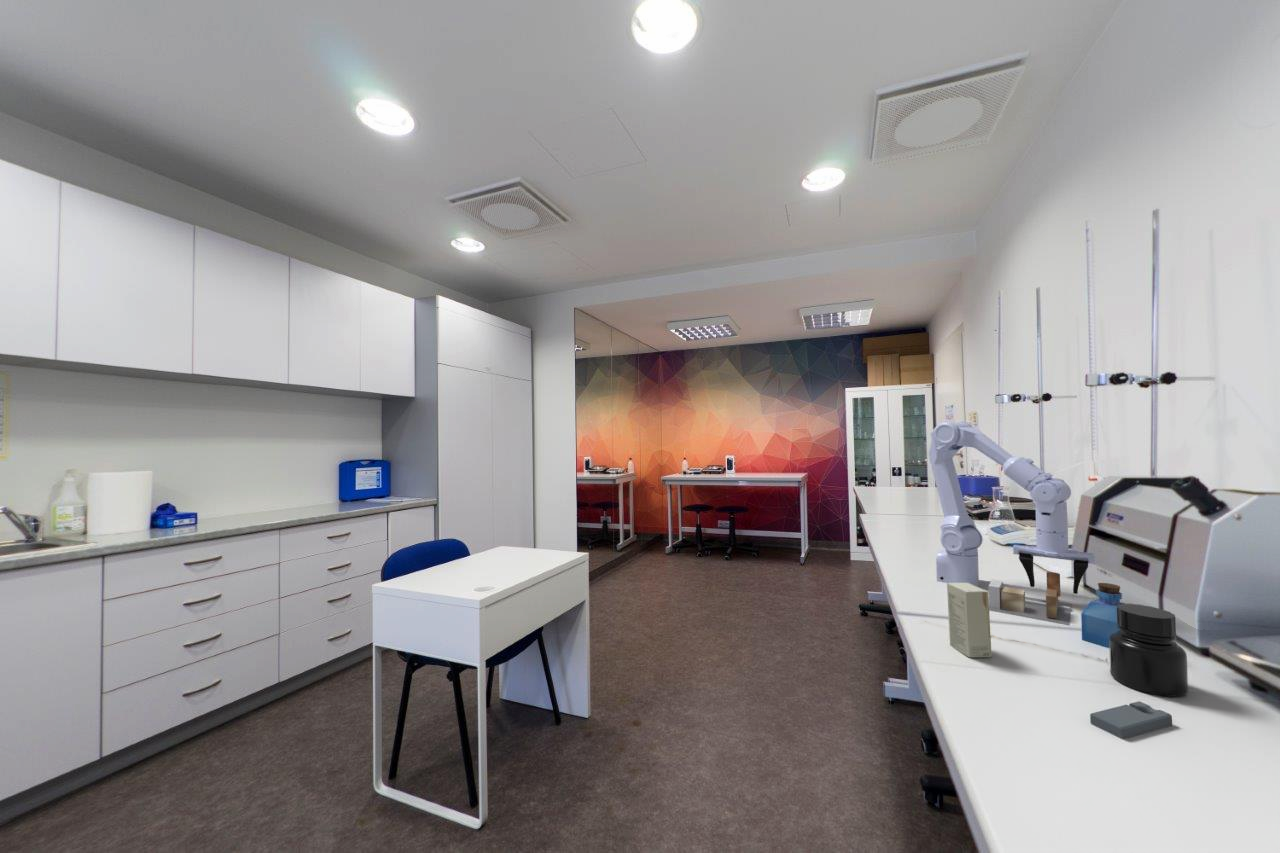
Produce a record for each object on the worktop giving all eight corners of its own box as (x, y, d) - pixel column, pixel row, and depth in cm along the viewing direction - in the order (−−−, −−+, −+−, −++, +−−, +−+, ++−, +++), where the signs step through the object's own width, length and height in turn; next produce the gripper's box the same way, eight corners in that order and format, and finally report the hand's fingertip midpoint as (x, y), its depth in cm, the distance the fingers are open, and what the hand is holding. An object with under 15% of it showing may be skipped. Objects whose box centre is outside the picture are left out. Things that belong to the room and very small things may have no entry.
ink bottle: (1154, 671, 85) (1152, 601, 85) (1208, 699, 76) (1205, 621, 76) (1093, 670, 86) (1091, 601, 86) (1139, 697, 77) (1137, 620, 77)
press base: (987, 614, 112) (987, 587, 112) (997, 596, 124) (996, 572, 124) (1069, 630, 102) (1068, 601, 102) (1071, 608, 114) (1070, 582, 114)
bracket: (1089, 726, 71) (1089, 712, 71) (1138, 713, 73) (1138, 699, 73) (1122, 743, 67) (1122, 728, 67) (1173, 728, 70) (1173, 714, 70)
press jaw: (1044, 616, 107) (1043, 584, 107) (1047, 600, 116) (1046, 571, 116) (1058, 619, 105) (1057, 587, 105) (1060, 602, 115) (1060, 573, 115)
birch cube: (1001, 608, 112) (1001, 591, 112) (1003, 603, 115) (1003, 586, 115) (1023, 612, 110) (1023, 594, 110) (1025, 607, 113) (1024, 590, 113)
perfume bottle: (1082, 645, 95) (1080, 583, 95) (1098, 639, 98) (1096, 578, 98) (1124, 658, 90) (1122, 592, 90) (1140, 651, 92) (1138, 587, 92)
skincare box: (992, 658, 91) (990, 592, 91) (968, 658, 91) (967, 592, 91) (970, 643, 97) (968, 581, 97) (947, 643, 97) (946, 581, 97)
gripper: (1011, 530, 117) (1012, 587, 117) (1094, 537, 107) (1096, 600, 107) (1014, 525, 122) (1015, 580, 122) (1093, 532, 112) (1095, 592, 112)
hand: (1053, 589), depth 115 cm, fingers open, 7 cm apart
